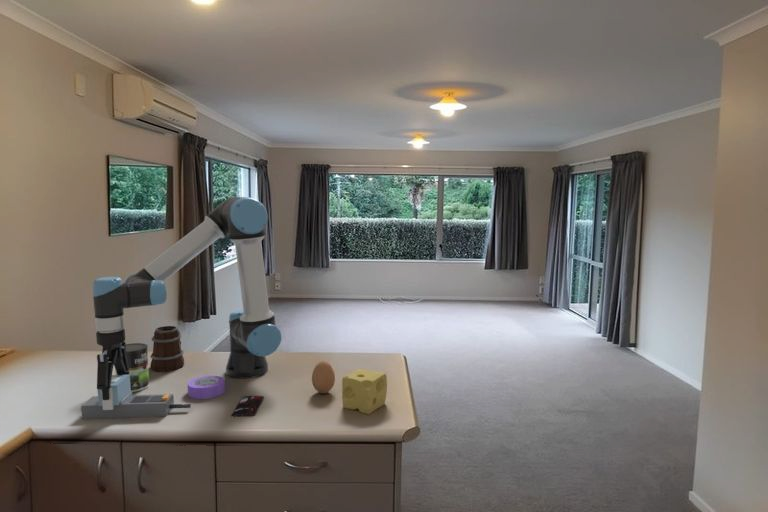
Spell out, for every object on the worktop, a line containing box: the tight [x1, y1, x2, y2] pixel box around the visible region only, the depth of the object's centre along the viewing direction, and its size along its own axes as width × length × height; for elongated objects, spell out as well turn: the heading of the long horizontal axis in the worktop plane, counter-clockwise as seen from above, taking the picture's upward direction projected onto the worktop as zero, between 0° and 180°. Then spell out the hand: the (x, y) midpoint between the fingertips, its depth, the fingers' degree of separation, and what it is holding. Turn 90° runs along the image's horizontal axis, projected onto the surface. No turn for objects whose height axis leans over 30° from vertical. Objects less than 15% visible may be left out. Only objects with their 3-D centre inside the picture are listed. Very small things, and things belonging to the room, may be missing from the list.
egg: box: [311, 360, 336, 394], centre depth 170 cm, size 8×8×11 cm
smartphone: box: [230, 395, 265, 418], centre depth 160 cm, size 7×1×15 cm
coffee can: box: [114, 342, 150, 393], centre depth 174 cm, size 10×10×14 cm
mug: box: [149, 325, 185, 372], centre depth 197 cm, size 16×12×15 cm
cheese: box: [341, 368, 388, 415], centre depth 160 cm, size 10×11×10 cm
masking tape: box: [187, 375, 226, 400], centre depth 171 cm, size 12×12×4 cm
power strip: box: [80, 392, 192, 420], centre depth 155 cm, size 30×7×5 cm, turn 95°
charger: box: [97, 374, 131, 406], centre depth 153 cm, size 6×9×6 cm, turn 5°
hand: (115, 402), depth 154 cm, fingers closed on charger, 9 cm apart
